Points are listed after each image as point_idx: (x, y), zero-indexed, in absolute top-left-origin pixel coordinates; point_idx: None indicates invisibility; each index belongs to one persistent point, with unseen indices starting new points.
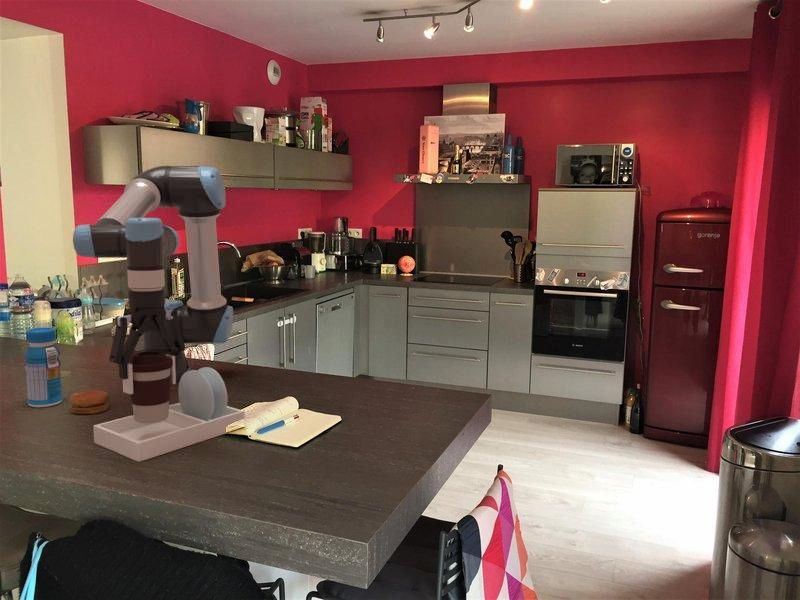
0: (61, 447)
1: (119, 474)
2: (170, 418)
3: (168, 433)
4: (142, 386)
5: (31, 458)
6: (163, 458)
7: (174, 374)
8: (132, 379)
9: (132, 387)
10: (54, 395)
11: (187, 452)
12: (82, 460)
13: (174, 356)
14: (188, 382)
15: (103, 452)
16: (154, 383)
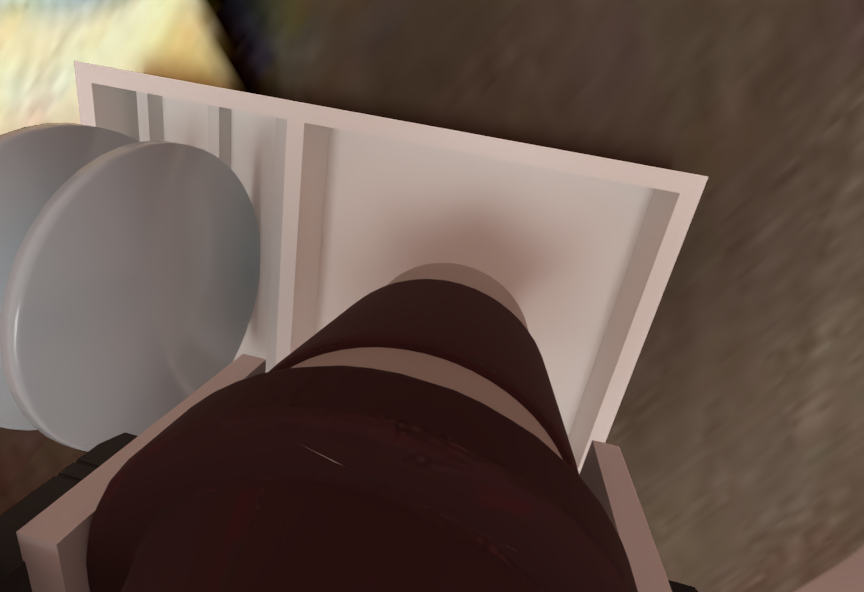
0: (648, 517)
1: (829, 133)
2: None
3: (517, 153)
4: (560, 422)
5: (773, 529)
6: (594, 107)
7: (204, 394)
8: (620, 535)
9: (609, 476)
10: None
11: (490, 65)
12: (733, 377)
13: (29, 529)
14: (121, 382)
15: (633, 370)
16: (493, 359)
